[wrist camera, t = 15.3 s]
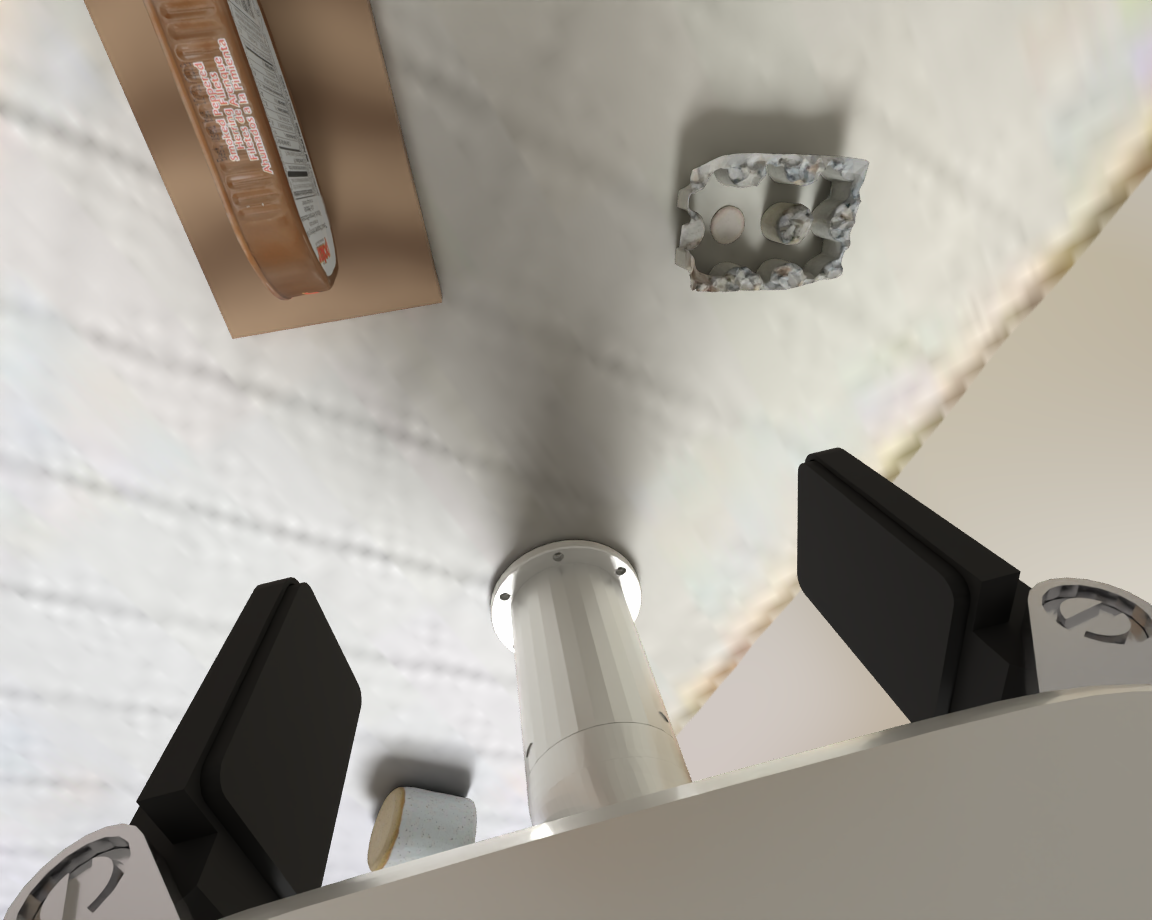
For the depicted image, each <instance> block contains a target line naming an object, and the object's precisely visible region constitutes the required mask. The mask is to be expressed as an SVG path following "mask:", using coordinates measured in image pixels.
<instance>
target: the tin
mask: <svg viewBox="0 0 1152 920" xmlns="http://www.w3.org/2000/svg"><path fill="white" fill-rule="evenodd" d="M142 1H143V3H144V6H145V8H146V11H147V13H148V16H149V18H150V21H151V23H152V26H153V28H154V31H155V33H156V36H157V38H158V41H159V43H160V46H161V48H162V51H163V53H164V56H165V59H166V61H167V64H168V66H169V69H170V72H171V74H172V77H173V79H174V82H175V84H176V86H177V89H178V92H179V94H180V97H181V99H182V101H183V104H184V106H185V109H186V112H187V114H188V117H189V119H190V122H191V124H192V127H193V130H194V132H195V135H196V138H197V140H198V142H199V145H200V147H201V150H202V153H203V155H204V157H205V160H206V163H207V166H208V168H209V171H210V173H211V175H212V178H213V180H214V183H215V186H216V188H217V191H218V194H219V196H220V199H221V201H222V204H223V207H224V209H225V212H226V214H227V217H228V219H229V222H230V224H231V226H232V229H233V231H234V233H235V235H236V238H237V240H238V242H239V244H240V246H241V248H242V249H243V251H244V253H245V255H246V257H247V259H248V261H249V263H250V264H251V266H252V267H253V269H254V271H255V272H256V274H257V276H258V277H259V278H260V280H261V281H262V283H263V284H264V285H265V287H266V288H267V289H268V290H269V291H270V292H271V293H272V294H273V295H274V296H275V297H277V298H278V299H280V300H289V299H291V298H292V297H296V296H301V295H308V294H314V293H319V292H324V291H328V290H330V289H331V288H332V287H333V285H334V282H335V279H336V277H337V274H338V269H339V266H338V256H337V249H336V244H335V239H334V235H333V230H332V226H331V222H330V219H329V215H328V212H327V208H326V204H325V201H324V198H323V195H322V192H321V188H320V185H319V182H318V179H317V175H316V172H315V168H314V165H313V162H312V159H311V155H310V152H309V149H308V145H307V142H306V139H305V135H304V132H303V129H302V125H301V122H300V119H299V116H298V113H297V110H296V106H295V103H294V100H293V97H292V94H291V91H290V88H289V84H288V81H287V78H286V75H285V72H284V69H283V66H282V63H281V60H280V57H279V54H278V51H277V48H276V45H275V41H274V38H273V35H272V32H271V30H270V27H269V24H268V21H267V18H266V15H265V13H264V10H263V7H262V4H261V2H260V0H142Z"/></svg>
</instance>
